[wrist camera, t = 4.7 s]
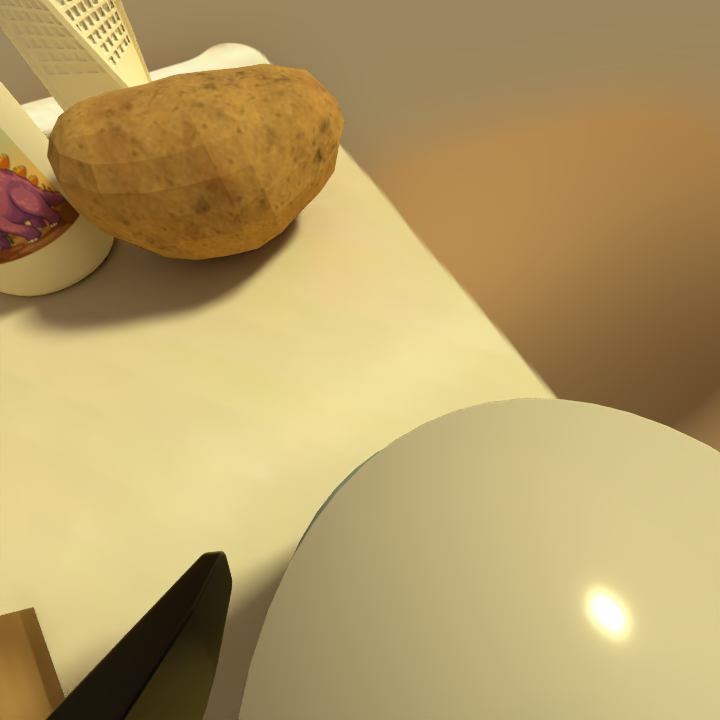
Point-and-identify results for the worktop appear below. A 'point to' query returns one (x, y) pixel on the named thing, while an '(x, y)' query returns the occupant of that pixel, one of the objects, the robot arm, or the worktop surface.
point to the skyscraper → (75, 46)
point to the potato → (199, 158)
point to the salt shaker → (505, 577)
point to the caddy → (26, 669)
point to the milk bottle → (39, 214)
